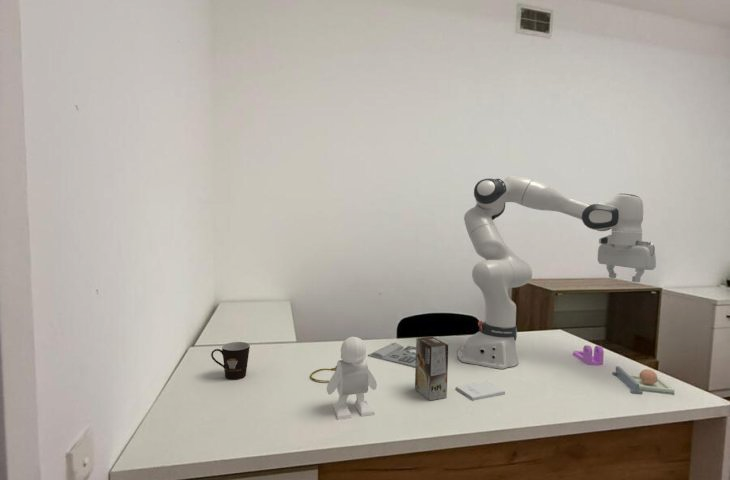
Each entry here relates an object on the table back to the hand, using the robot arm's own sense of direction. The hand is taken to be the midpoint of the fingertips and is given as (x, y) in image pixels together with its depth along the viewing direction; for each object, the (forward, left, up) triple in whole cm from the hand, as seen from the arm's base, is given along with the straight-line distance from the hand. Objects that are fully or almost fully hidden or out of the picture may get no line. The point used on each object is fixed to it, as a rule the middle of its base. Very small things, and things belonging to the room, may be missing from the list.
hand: (623, 279), depth 134 cm
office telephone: (-75, -4, -35) cm, 83 cm away
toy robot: (-83, -52, -34) cm, 104 cm away
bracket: (-6, +15, -34) cm, 38 cm away
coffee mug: (-127, -42, -34) cm, 138 cm away
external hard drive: (-48, -29, -35) cm, 66 cm away
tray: (+6, -7, -34) cm, 35 cm away
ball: (+6, -7, -34) cm, 35 cm away
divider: (0, -7, -34) cm, 35 cm away
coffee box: (-63, -35, -34) cm, 80 cm away
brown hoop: (-96, -31, -35) cm, 107 cm away
